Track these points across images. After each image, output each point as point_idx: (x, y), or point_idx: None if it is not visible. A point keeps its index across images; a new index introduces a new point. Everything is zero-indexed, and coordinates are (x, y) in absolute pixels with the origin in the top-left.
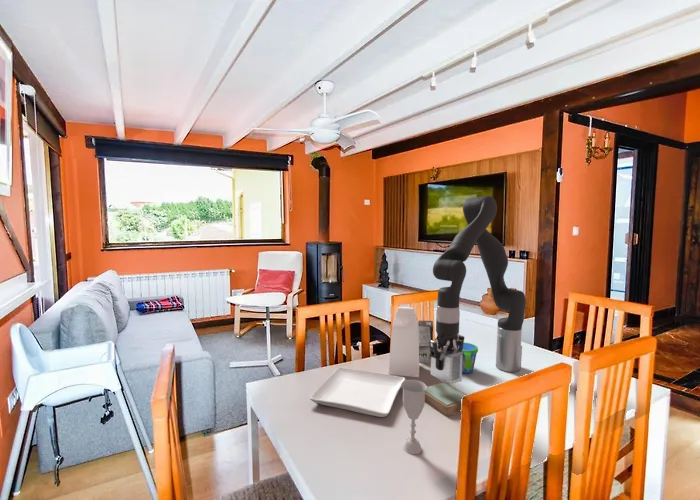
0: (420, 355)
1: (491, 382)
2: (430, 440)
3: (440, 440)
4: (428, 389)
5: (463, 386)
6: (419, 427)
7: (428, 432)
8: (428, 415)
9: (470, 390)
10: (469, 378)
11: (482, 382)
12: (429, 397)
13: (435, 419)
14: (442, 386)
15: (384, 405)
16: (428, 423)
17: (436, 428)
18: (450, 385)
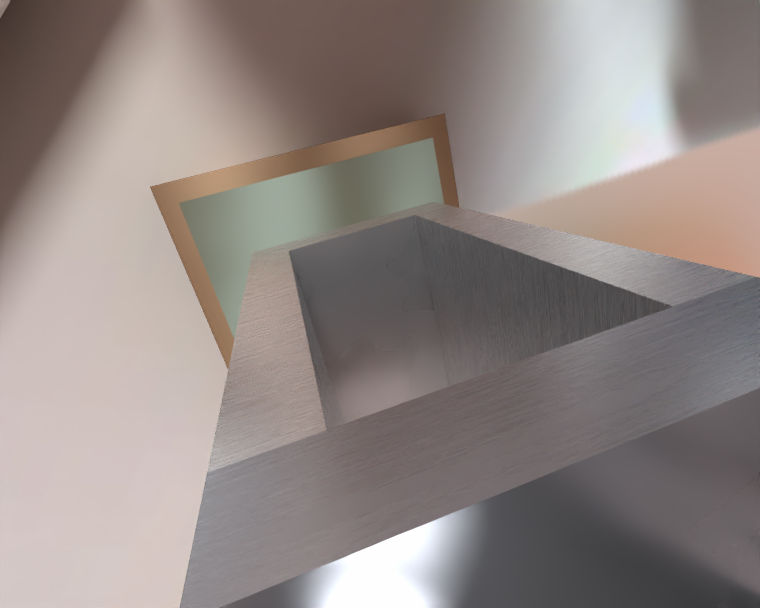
0: None
1: (747, 117)
2: (95, 604)
3: (149, 602)
4: (240, 227)
5: (571, 113)
6: (64, 514)
7: (106, 552)
8: (165, 412)
9: (572, 181)
10: (686, 4)
11: (707, 98)
12: (210, 321)
13: (194, 452)
14: (382, 204)
15: None
16: (135, 483)
17: (166, 523)
18: (455, 191)
